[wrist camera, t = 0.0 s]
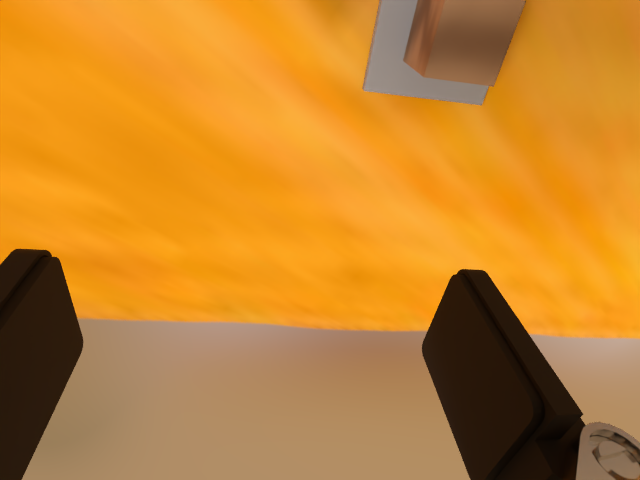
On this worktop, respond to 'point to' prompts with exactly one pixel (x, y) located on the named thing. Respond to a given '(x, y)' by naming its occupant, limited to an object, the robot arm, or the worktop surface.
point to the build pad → (394, 73)
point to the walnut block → (461, 38)
